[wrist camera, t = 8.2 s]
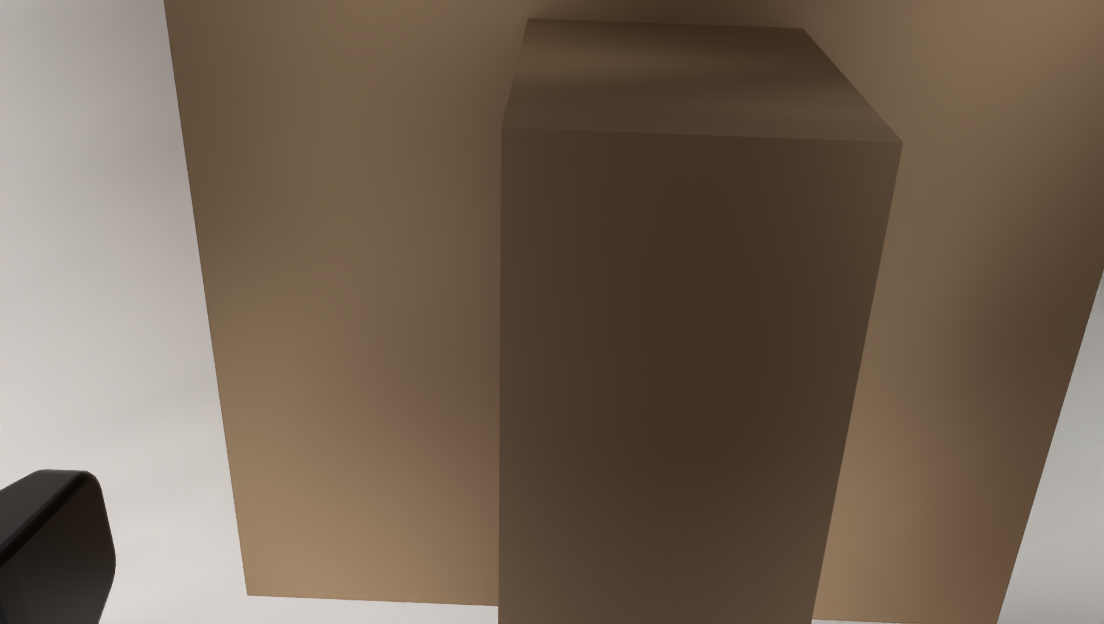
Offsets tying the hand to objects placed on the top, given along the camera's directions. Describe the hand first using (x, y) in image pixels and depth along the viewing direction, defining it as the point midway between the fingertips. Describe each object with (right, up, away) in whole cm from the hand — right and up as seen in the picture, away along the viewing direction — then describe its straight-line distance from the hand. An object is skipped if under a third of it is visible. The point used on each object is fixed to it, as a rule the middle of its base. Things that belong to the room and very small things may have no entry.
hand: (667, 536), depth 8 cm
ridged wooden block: (0, +3, +5) cm, 6 cm away
